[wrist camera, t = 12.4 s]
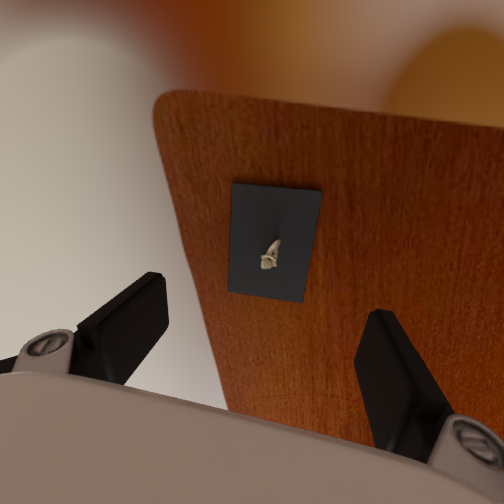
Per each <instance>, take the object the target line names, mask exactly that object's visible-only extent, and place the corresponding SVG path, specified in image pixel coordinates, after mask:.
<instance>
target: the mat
mask: <svg viewBox="0 0 504 504" xmlns="http://www.w3.org/2000/svg"><path fill="white" fill-rule="evenodd" d="M322 193H323V192H322V191H317V190H307V189H296V188H286V187H276V186H265V185H255V184H244V183H232V206H231V230H230V254H229V278H228V292H235V293H241V294H247V295H254V296H260V297H267V298H273V299H279V300H286V301H292V302H298V303H302V301H303V296H304V290H305V285H306V279H307V274H308V269H309V263H310V258H311V252H312V247H313V242H314V236H315V231H316V225H317V220H318V214H319V209H320V204H321V198H322ZM276 240H280V241H281V242H280V245H279V247H278V249H277V250H278V253H277V258H276V259H277V261H276V264H277V266H276V267H275V266H272V267H271V268H269V269H261V261H262V258H261V256H262V255H266V253H267V251H268V249H269V247H270V246H271V245H272V244H273V243H274V242H275V241H276ZM274 254H275V253H274V252H272V255H274ZM268 260H270V261H272V260H271V259H270V258H268ZM272 264H273V263H272Z"/></svg>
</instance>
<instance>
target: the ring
mask: <svg viewBox="0 0 504 504" xmlns="http://www.w3.org/2000/svg"><path fill="white" fill-rule="evenodd" d="M280 242H281V241H280V240H276V241H275V242H274V243H273V244H272V245H271V246H270V247H269V249H268V251H267V253H266V255H262V256H261V258H262V261H261V269H269V268H271V267H272V266H275V267H276V266H277V264H276V261H277V259H276V258H277V253H278V250H277V249H278V247H279V245H280ZM272 252H274V253H275V254H274V255H272ZM268 258H270V259H271V260H272V261H270V260H268ZM272 263H273V264H272Z"/></svg>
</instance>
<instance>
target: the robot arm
mask: <svg viewBox="0 0 504 504" xmlns="http://www.w3.org/2000/svg"><path fill="white" fill-rule="evenodd" d="M168 325H169V316H168V305H167V292H166V280H165V278H164V277H163V276H162V274H161V273H155V272H147V273H146V274H144V275H143V276H142V277H140V278H139V279H138V280H136V281H135V282H134V283H132V284H131V285H130V286H128V287H127V288H126V289H125V290H123V291H122V292H120V293H119V294H118V295H117V296H115V297H114V298H113V299H111V300H110V301H109V302H107V303H106V304H105V305H103V306H102V307H101V308H99V309H98V310H97V311H95V312H94V313H93V314H91V315H90V316H89V317H87V318H86V319H85V320H83V321H82V322H81V323H79V324H78V325H77V328H78V330H77V331H76V332H75V333H73V332H72V331H70V330H67V329H57V330H51V331H48V332H45V333H42V334H40V335H38V336H36V337H34V338H33V339H31V340H30V341H28V342H27V343H26V344H25V345H24V346H23V347H22V349H21V350H20V353H19V355H17V356H14V357H10V358H7V359H4V360H0V504H504V440H503V439H502V438H501V437H499V436H498V435H497V434H496V433H495V432H494V431H493V430H491V429H490V428H489V427H487V426H486V425H485V424H483V423H481V422H479V421H478V420H476V419H474V418H471V417H469V416H466V415H462V414H455V412H454V411H453V409H452V407H451V406H450V404H449V402H448V401H447V399H446V397H445V396H444V394H443V392H442V391H441V389H440V388H439V386H438V384H437V383H436V381H435V379H434V378H433V376H432V374H431V373H430V371H429V369H428V368H427V366H426V365H425V363H424V361H423V360H422V358H421V356H420V355H419V353H418V352H417V350H416V349H415V348H414V346H413V345H412V343H411V341H410V340H409V338H408V336H407V335H406V333H405V331H404V330H403V328H402V326H401V325H400V323H399V321H398V320H397V318H396V316H395V315H394V313H393V312H392V311H388V310H382V309H376V310H375V311H374V312H373V311H371V312H370V314H369V316H368V320H367V323H366V326H365V329H364V332H363V335H362V338H361V341H360V344H359V347H358V350H357V353H356V356H355V360H354V366H355V371H356V374H357V378H358V382H359V386H360V390H361V393H362V397H363V401H364V405H365V409H366V412H367V416H368V420H369V424H370V428H371V431H372V435H373V439H374V443H375V447H376V448H373V447H369V446H366V445H362V444H358V443H355V442H351V441H347V440H343V439H340V438H336V437H332V436H328V435H324V434H320V433H316V432H312V431H308V430H304V429H300V428H296V427H292V426H288V425H284V424H280V423H276V422H272V421H268V420H264V419H260V418H256V417H252V416H248V415H244V414H240V413H236V412H232V411H228V410H223V409H219V408H215V407H211V406H207V405H203V404H199V403H195V402H191V401H187V400H182V399H178V398H174V397H170V396H166V395H161V394H158V393H153V392H149V391H145V390H141V389H136V388H132V387H128V386H124V384H125V383H126V381H127V380H128V379H129V378H130V376H131V375H132V374H133V372H134V371H135V370H136V369H137V367H138V366H139V365H140V363H141V362H142V361H143V360H144V358H145V357H146V356H147V354H148V353H149V352H150V350H151V349H152V348H153V346H154V345H155V344H156V343H157V341H158V340H159V339H160V337H161V336H162V335H163V334H164V332H165V331H166V330H167V328H168Z"/></svg>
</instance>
